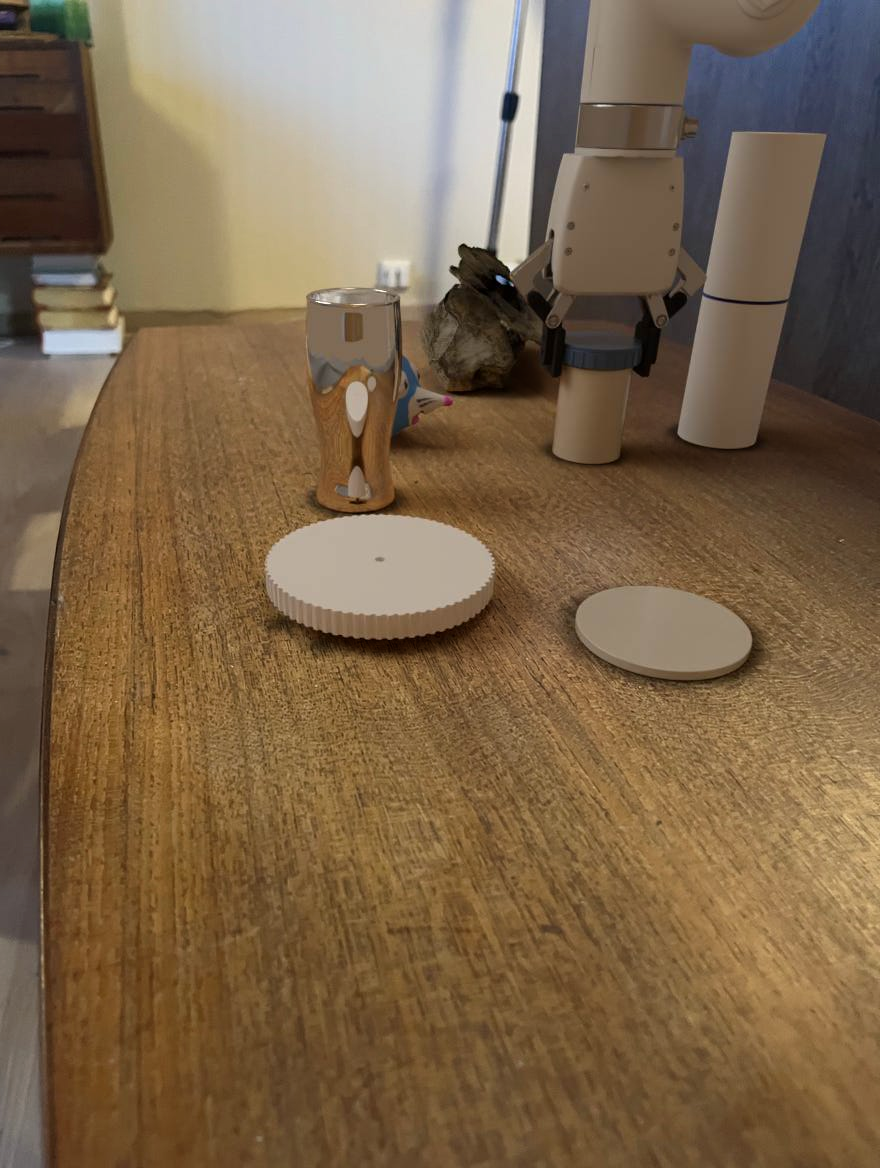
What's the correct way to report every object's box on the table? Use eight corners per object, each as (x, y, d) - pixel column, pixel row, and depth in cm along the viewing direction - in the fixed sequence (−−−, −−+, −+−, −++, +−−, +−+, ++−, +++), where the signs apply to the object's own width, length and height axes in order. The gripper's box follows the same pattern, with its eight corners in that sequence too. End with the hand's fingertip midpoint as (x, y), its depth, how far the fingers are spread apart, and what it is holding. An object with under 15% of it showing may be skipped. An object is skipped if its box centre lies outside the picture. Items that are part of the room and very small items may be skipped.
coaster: (770, 624, 53) (773, 615, 53) (719, 702, 46) (721, 692, 45) (614, 579, 58) (615, 570, 57) (545, 643, 51) (546, 634, 50)
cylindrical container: (678, 444, 81) (735, 132, 68) (676, 421, 87) (729, 131, 74) (759, 451, 80) (833, 135, 67) (751, 428, 86) (818, 133, 73)
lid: (648, 355, 76) (651, 336, 75) (630, 374, 71) (633, 353, 70) (568, 346, 79) (570, 327, 78) (545, 363, 73) (547, 343, 72)
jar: (630, 450, 80) (646, 343, 75) (603, 469, 75) (619, 357, 71) (569, 437, 83) (581, 334, 78) (540, 454, 78) (551, 346, 73)
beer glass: (416, 492, 70) (421, 293, 62) (369, 522, 65) (369, 308, 57) (343, 475, 73) (339, 283, 65) (293, 503, 68) (282, 297, 60)
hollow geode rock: (490, 378, 119) (417, 287, 115) (566, 313, 112) (492, 216, 109) (453, 434, 95) (359, 323, 91) (547, 356, 89) (451, 233, 85)
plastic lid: (301, 540, 62) (300, 506, 61) (500, 558, 60) (503, 523, 59) (236, 641, 50) (232, 602, 49) (481, 667, 48) (484, 627, 47)
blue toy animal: (431, 470, 75) (435, 369, 70) (302, 452, 78) (298, 355, 73) (468, 429, 84) (473, 338, 80) (352, 415, 87) (351, 327, 83)
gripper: (718, 134, 70) (678, 362, 79) (503, 130, 69) (487, 363, 78) (759, 137, 64) (710, 384, 73) (524, 133, 62) (504, 386, 71)
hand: (596, 371), depth 75 cm, fingers closed on lid, 7 cm apart
